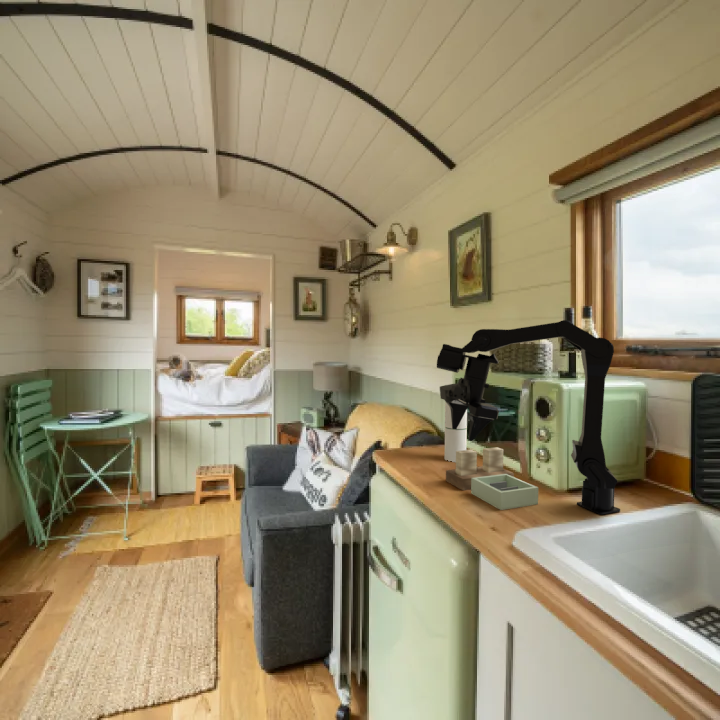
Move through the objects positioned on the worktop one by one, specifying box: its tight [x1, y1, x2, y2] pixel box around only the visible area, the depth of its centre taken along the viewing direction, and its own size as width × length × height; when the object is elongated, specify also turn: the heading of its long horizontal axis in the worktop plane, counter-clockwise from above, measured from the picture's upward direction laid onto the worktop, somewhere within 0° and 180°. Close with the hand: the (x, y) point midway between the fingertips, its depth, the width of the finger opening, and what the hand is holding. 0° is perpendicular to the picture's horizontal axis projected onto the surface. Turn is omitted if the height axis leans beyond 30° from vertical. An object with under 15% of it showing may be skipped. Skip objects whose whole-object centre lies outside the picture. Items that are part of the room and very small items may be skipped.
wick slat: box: [482, 447, 504, 473], centre depth 110 cm, size 5×2×9 cm, turn 110°
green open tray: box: [470, 474, 539, 511], centre depth 96 cm, size 11×11×4 cm
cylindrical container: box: [443, 401, 468, 463], centre depth 131 cm, size 7×7×25 cm
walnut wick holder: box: [445, 465, 515, 491], centre depth 108 cm, size 17×8×3 cm, turn 110°
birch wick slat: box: [455, 449, 478, 476], centre depth 106 cm, size 5×2×9 cm, turn 110°
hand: (461, 434), depth 103 cm, fingers open, 9 cm apart
